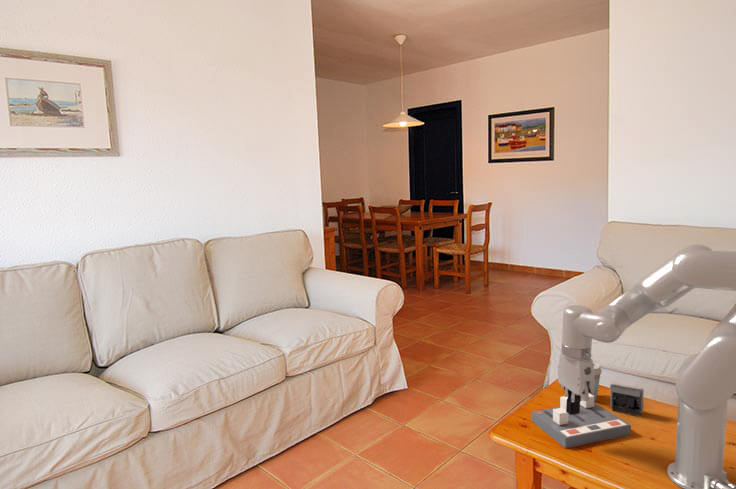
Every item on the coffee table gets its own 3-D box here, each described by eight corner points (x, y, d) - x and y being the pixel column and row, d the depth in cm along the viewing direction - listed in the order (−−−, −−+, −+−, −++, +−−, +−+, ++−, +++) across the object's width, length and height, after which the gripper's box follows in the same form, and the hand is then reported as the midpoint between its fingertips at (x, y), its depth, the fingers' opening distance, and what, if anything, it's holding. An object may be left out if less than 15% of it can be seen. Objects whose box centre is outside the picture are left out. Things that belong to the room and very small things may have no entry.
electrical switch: (643, 412, 151) (644, 385, 149) (642, 420, 147) (643, 393, 145) (610, 405, 156) (610, 379, 154) (608, 413, 152) (608, 387, 150)
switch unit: (630, 434, 138) (630, 424, 138) (565, 448, 133) (565, 437, 132) (591, 409, 154) (591, 400, 153) (531, 420, 148) (531, 411, 148)
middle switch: (574, 410, 147) (575, 399, 147) (566, 411, 146) (566, 401, 146) (568, 406, 150) (568, 395, 150) (560, 407, 149) (560, 396, 149)
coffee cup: (590, 406, 156) (591, 371, 154) (567, 397, 163) (568, 363, 161) (606, 399, 160) (607, 365, 158) (583, 390, 167) (584, 358, 166)
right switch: (594, 406, 149) (594, 396, 148) (585, 408, 148) (586, 397, 148) (587, 402, 152) (587, 392, 151) (579, 404, 151) (579, 393, 151)
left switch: (568, 423, 140) (568, 412, 139) (559, 425, 139) (559, 413, 138) (561, 418, 142) (561, 407, 142) (552, 420, 142) (553, 409, 141)
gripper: (607, 359, 125) (603, 424, 128) (569, 340, 139) (566, 399, 142) (583, 362, 123) (579, 428, 126) (547, 342, 137) (544, 402, 140)
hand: (572, 412), depth 134 cm, fingers closed
